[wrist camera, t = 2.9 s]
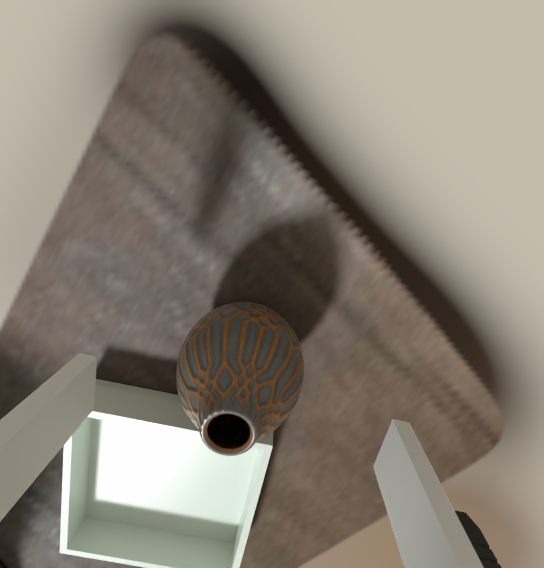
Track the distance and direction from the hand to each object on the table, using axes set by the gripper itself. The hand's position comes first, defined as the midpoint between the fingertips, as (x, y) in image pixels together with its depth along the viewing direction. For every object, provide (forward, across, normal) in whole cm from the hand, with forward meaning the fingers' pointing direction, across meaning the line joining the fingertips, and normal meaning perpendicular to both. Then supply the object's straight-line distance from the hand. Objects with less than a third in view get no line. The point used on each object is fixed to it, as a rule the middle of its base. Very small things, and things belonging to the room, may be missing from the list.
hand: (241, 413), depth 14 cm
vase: (+8, 0, 0) cm, 8 cm away
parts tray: (+7, -4, -12) cm, 15 cm away
